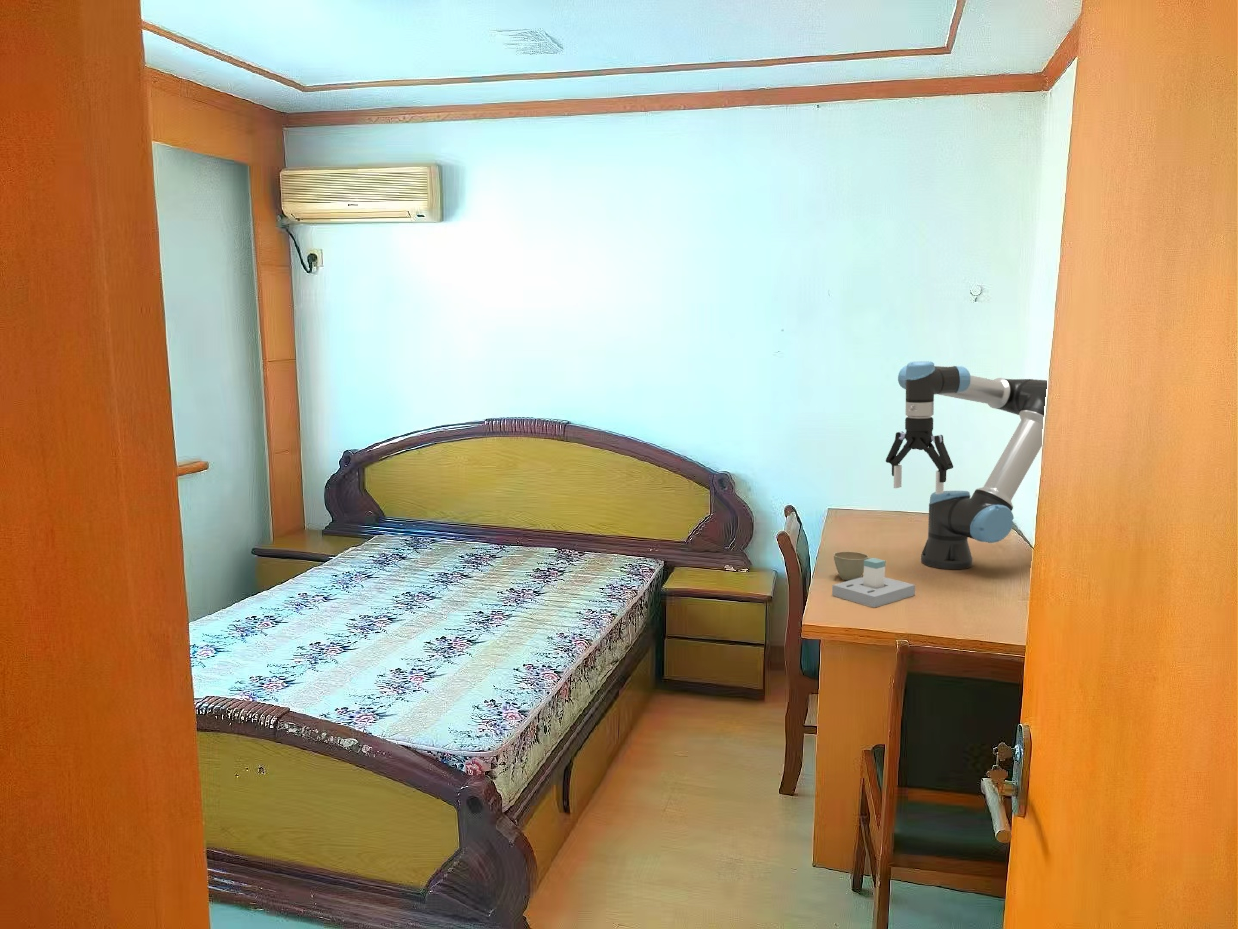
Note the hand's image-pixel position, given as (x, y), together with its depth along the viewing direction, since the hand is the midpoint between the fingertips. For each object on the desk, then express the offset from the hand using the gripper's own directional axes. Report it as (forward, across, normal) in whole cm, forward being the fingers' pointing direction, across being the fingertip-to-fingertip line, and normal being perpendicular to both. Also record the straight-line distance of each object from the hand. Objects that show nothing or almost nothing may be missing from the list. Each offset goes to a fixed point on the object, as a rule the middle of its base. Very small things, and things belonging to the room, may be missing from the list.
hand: (918, 490), depth 254 cm
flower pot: (+27, -14, -12) cm, 33 cm away
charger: (+26, 0, -21) cm, 34 cm away
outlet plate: (+26, 0, -21) cm, 34 cm away
